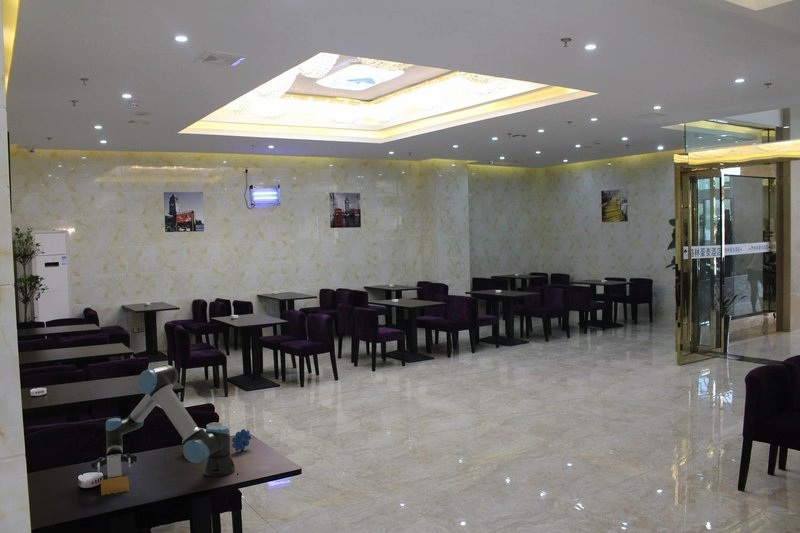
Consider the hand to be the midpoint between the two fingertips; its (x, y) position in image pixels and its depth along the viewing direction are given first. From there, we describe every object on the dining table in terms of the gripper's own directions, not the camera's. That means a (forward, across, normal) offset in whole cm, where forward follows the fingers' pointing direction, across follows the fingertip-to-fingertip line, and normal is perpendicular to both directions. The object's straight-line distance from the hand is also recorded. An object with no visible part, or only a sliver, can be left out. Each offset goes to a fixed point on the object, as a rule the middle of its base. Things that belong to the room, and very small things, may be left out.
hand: (114, 467), depth 302 cm
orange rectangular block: (-3, 0, -12) cm, 12 cm away
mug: (-57, -53, -12) cm, 79 cm away
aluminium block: (-3, 0, -8) cm, 9 cm away
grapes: (-34, -65, -12) cm, 75 cm away
